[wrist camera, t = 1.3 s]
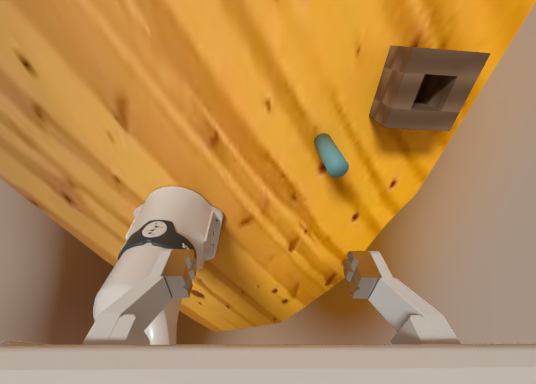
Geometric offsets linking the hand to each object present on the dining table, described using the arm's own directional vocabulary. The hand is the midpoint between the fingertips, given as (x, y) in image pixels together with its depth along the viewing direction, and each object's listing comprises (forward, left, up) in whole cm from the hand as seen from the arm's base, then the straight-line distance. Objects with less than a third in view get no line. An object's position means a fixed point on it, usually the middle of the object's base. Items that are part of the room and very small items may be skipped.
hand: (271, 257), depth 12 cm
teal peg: (-6, -11, -31) cm, 33 cm away
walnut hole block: (+4, -23, -31) cm, 39 cm away
